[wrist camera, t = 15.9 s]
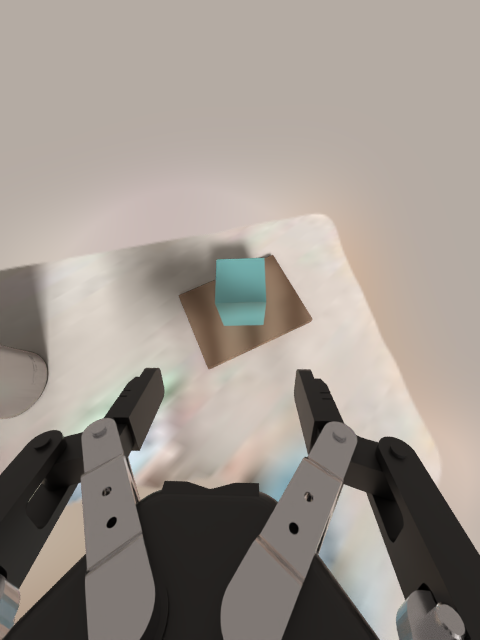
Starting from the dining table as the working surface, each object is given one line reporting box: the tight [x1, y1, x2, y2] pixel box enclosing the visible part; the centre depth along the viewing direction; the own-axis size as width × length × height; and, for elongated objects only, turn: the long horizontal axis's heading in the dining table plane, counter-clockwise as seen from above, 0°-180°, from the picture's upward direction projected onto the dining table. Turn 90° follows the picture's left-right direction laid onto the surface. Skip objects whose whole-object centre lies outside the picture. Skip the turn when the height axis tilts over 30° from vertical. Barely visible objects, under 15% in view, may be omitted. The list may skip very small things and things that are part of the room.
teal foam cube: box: [215, 258, 266, 326], centre depth 29 cm, size 6×6×8 cm
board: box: [179, 255, 312, 369], centre depth 34 cm, size 16×12×1 cm
